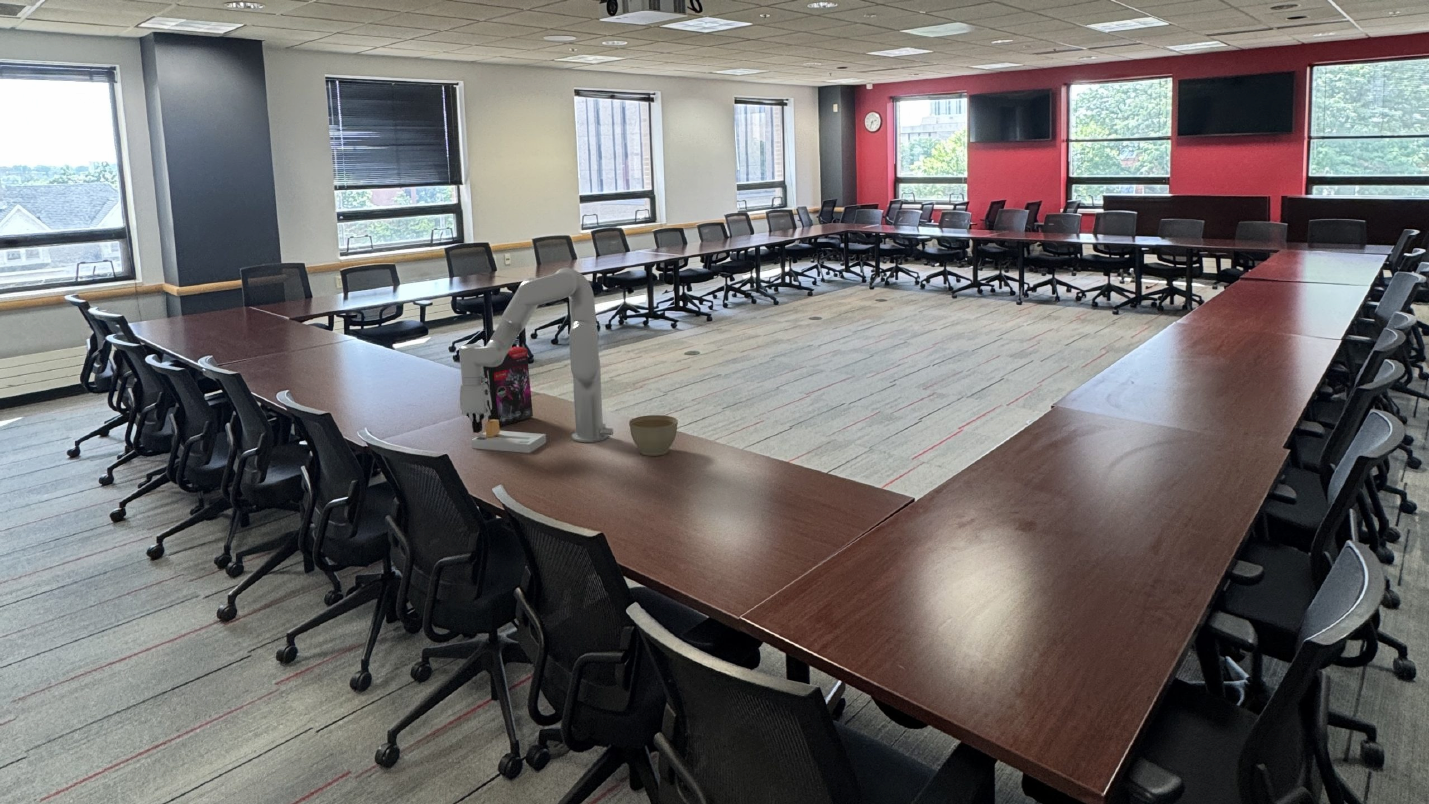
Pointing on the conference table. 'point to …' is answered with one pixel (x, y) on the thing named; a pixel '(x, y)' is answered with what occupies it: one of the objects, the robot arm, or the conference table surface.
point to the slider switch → (510, 441)
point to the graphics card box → (510, 388)
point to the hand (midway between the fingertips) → (477, 431)
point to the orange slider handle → (492, 428)
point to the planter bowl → (653, 433)
